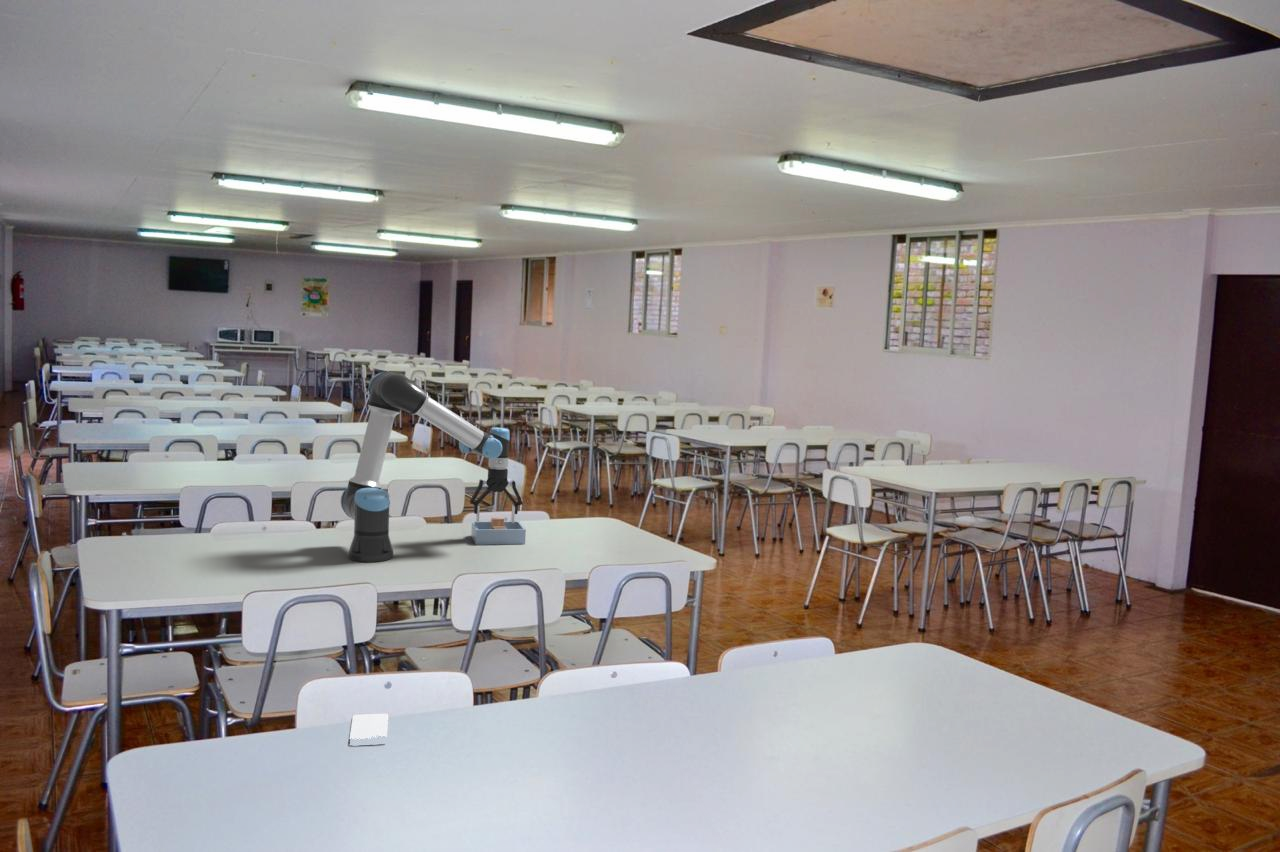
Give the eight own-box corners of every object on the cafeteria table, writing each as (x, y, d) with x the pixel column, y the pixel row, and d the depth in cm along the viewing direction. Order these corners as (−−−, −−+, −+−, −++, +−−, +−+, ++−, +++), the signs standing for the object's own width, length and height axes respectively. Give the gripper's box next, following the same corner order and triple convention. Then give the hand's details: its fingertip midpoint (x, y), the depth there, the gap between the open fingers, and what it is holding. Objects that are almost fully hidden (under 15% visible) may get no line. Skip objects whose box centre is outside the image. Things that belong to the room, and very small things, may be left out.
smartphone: (348, 745, 194) (352, 714, 208) (348, 749, 194) (352, 718, 208) (386, 743, 195) (388, 713, 210) (386, 747, 195) (388, 716, 210)
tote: (475, 544, 372) (476, 530, 371) (471, 535, 387) (471, 521, 386) (525, 543, 377) (525, 529, 376) (518, 535, 392) (519, 521, 391)
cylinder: (489, 535, 386) (490, 517, 386) (502, 535, 388) (503, 517, 387) (491, 538, 382) (492, 520, 381) (504, 537, 383) (505, 519, 382)
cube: (492, 539, 380) (492, 526, 379) (505, 538, 381) (505, 526, 380) (493, 542, 375) (494, 529, 374) (507, 541, 376) (507, 528, 376)
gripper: (466, 468, 374) (463, 523, 376) (531, 470, 381) (528, 524, 383) (464, 465, 381) (461, 520, 383) (528, 467, 388) (525, 520, 390)
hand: (495, 522), depth 383 cm, fingers open, 13 cm apart
